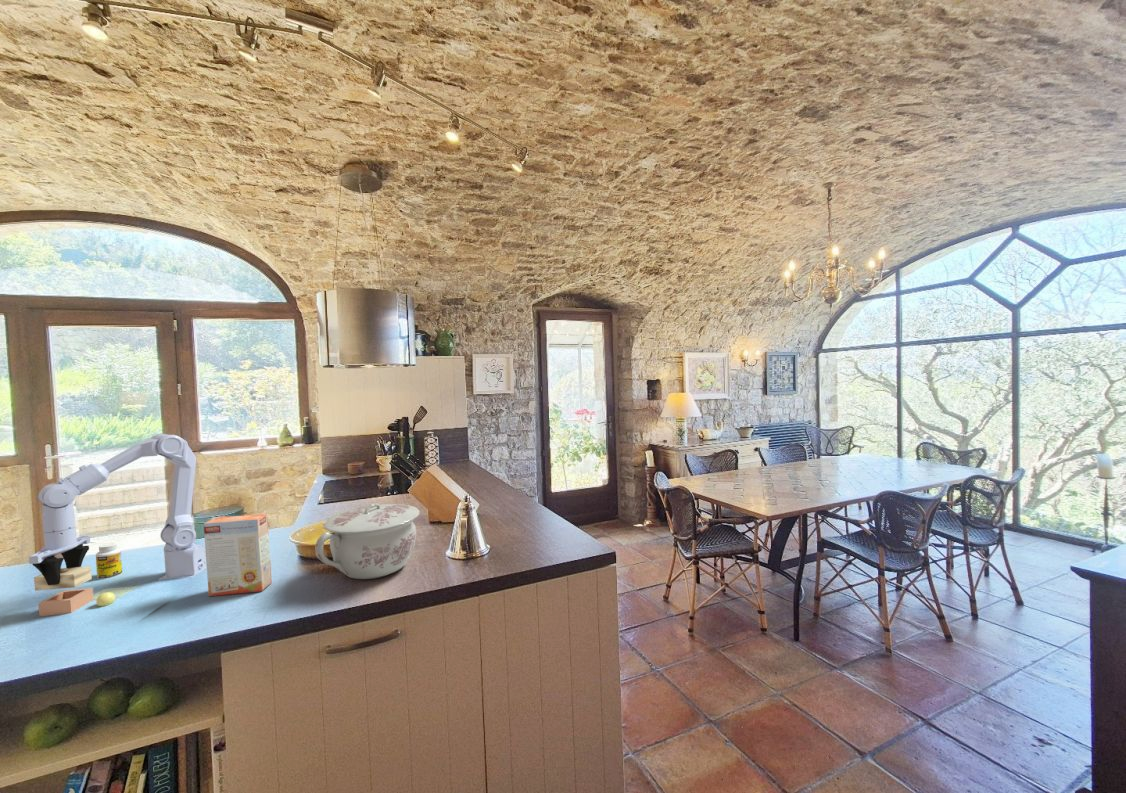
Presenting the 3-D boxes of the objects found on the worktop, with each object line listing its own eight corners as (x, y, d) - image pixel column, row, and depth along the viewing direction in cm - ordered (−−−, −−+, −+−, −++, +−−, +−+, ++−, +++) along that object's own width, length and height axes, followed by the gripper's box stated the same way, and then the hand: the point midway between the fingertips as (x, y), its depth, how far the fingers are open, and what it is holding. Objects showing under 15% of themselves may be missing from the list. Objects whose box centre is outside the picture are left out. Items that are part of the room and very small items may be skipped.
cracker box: (272, 582, 134) (268, 512, 133) (262, 592, 128) (257, 519, 127) (221, 587, 132) (216, 516, 131) (207, 597, 126) (202, 522, 125)
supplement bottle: (94, 582, 138) (92, 549, 137) (100, 575, 143) (98, 543, 142) (119, 578, 141) (117, 545, 140) (124, 571, 146) (122, 540, 145)
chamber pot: (422, 547, 158) (419, 488, 157) (423, 581, 132) (419, 510, 131) (332, 560, 150) (329, 497, 149) (315, 598, 123) (310, 523, 122)
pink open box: (93, 601, 126) (92, 587, 125) (71, 614, 119) (70, 599, 119) (63, 605, 124) (62, 590, 124) (39, 618, 118) (38, 603, 117)
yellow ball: (119, 602, 125) (118, 589, 125) (108, 608, 121) (107, 595, 121) (104, 603, 125) (103, 590, 124) (93, 610, 121) (91, 596, 121)
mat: (139, 587, 133) (139, 585, 133) (119, 599, 127) (119, 597, 127) (104, 590, 132) (104, 588, 132) (82, 602, 125) (82, 600, 125)
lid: (91, 578, 124) (90, 564, 124) (75, 587, 119) (73, 572, 119) (53, 581, 123) (52, 567, 123) (35, 590, 118) (33, 575, 118)
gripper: (68, 521, 127) (72, 569, 128) (13, 540, 113) (17, 593, 113) (96, 519, 128) (100, 567, 128) (45, 537, 113) (50, 591, 114)
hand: (64, 579), depth 121 cm, fingers closed on lid, 5 cm apart
